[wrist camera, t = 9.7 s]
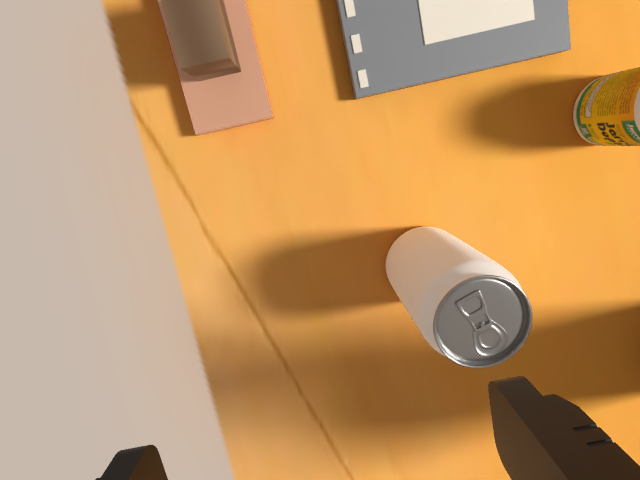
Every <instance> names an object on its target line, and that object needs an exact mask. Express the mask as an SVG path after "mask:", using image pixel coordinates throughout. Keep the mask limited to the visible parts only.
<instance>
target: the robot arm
mask: <svg viewBox="0 0 640 480" xmlns="http://www.w3.org/2000/svg"><path fill="white" fill-rule="evenodd" d="M489 398H490V406H491V414H492V421H493V429H494V437H495V443H496V447H497V450H498V453H499V456H500V459H501V461H502V463H503V465H504V467H505V469H506V471H507V473H508V474H509V476H510V478H511V479H512V480H640V466H639V465H638V464H637V463H636V462H635V461H634V460H633V459H632V458H631V457H630V456H629V455H628V454H626V453H625V452H624V451H623V450H622V449H621V448H620V447H619V446H618V445H617V444H616V443H615V442H614V443H613V442H612V440H611V438H610V437H609V436H608V435H607V434H606V433H605V432H604V431H603V430H602V429H601V428H600V427H597V426H596V423H595V422H594V421H593V420H592V419H591V418H590V417H589V416H588V415H587V414H586V413H585V412H583V411H582V410H581V409H580V408H579V407H578V406H576V405H575V404H573V403H571V402H569V401H567V400H565V399H563V398H561V397H559V396H557V395H555V394H552V395H546V396H542V395H541V394H540V393H539V392H538V390H537V389H536V388H535V387H534V386H533V385H532V384H531V383H530V382H529V381H528V380H527V379H526V378H525V377H524V376H518V377H513V378H508V379H502V380H497V381H492V382H490V383H489ZM96 480H168V479H167V476H166V473H165V470H164V467H163V464H162V461H161V458H160V455H159V452H158V450H157V448H156V447H155V446H154V445H148V446H142V447H137V448H132V449H126V450H121V451H119V452H118V453H117V454H116V455H115V457H114V458H113V460H112V461H111V463H110V464H109V466H108V467H107V469H106V470H105V472H104V474H103V475H102V476H101V478H97V479H96Z"/></svg>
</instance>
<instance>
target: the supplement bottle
mask: <svg viewBox="0 0 640 480" xmlns="http://www.w3.org/2000/svg"><path fill="white" fill-rule="evenodd" d="M573 120H574V125H575V127H576V130H577V132H578V133H579V135H580V136H581V137H582V138H583V139H584V140H586V141H587V142H589V143H592V144H595V145H603V146H640V67H639V68H634V69H630V70H625V71H621V72H617V73H612V74H609V75H605V76H602V77H599V78H597V79H595V80H594V81H592V82H591V83H589V84H588V85H587V86H586V87H585V88H584V89H583V90H582V91H581V93H580V94H579V96H578V98H577V100H576V102H575V105H574V110H573Z"/></svg>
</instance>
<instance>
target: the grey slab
mask: <svg viewBox="0 0 640 480" xmlns="http://www.w3.org/2000/svg"><path fill="white" fill-rule="evenodd" d="M336 4H337V9H338V15H339V20H340V25H341V30H342V35H343V41H344V46H345V51H346V56H347V61H348V67H349V72H350V77H351V82H352V87H353V93H354V98H355V100H356V99H360V98H364V97H369V96H373V95H378V94H382V93H386V92H391V91H395V90H399V89H404V88H408V87H412V86H417V85H421V84H425V83H430V82H434V81H438V80H443V79H447V78H451V77H456V76H460V75H465V74H469V73H473V72H478V71H482V70H486V69H491V68H495V67H499V66H504V65H508V64H512V63H517V62H521V61H525V60H530V59H534V58H538V57H543V56H547V55H552V54H556V53H560V52H563V51H566V50H569V49H571V43H570V29H569V15H568V1H567V0H336Z"/></svg>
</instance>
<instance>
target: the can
mask: <svg viewBox="0 0 640 480" xmlns="http://www.w3.org/2000/svg"><path fill="white" fill-rule="evenodd" d="M386 273H387V277H388V280H389V282H390V284H391V286H392V287H393V289H394V291H395V292H396V294H397V296H398V297H399V299H400V300H401V302H402V304H403V305H404V307H405V309H406V310H407V312H408V313H409V315H410V317H411V318H412V320H413V321H414V323H415V324H416V326H417V328H418V329H419V331H420V332H421V334H422V335H423V337H424V338H425V340H426V341H427V342H428V343H429V345H430V346H431V347H432V348H433V349H435V350H436V351H437V352H438V353H440V354H442V355H444V356H446V357H447V358H448V359H450V360H451V361H453V362H454V363H456V364H458V365H461V366H464V367H469V368H487V367H491V366H495V365H497V364H500V363H502V362H504V361H506V360H507V359H509V358H510V357H512V356H513V355H514V354H515V353H516V352H517V351H518V350H519V349H520V348H521V347H522V345H523V344H524V343H525V341H526V339H527V337H528V335H529V332H530V329H531V325H532V309H531V305H530V302H529V299H528V297H527V296H526V294H525V293H524V291H523V290H522V289H521V286H520V284H519V283H518V281H517V280H516V278H515V277H514V276H513V275H512V274H511V273H510V272H509V271H508V270H506V269H505V268H504V267H502V266H501V265H499V264H498V263H496V262H495V261H493V260H492V259H490V258H488V257H487V256H485V255H484V254H482V253H480V252H479V251H477V250H476V249H474V248H472V247H471V246H469V245H467V244H466V243H464V242H463V241H461V240H459V239H458V238H456V237H454V236H453V235H451V234H449V233H448V232H446V231H444V230H442V229H439V228H436V227H429V226H424V227H417V228H414V229H411V230H409V231H407V232H405V233H404V234H402V235H401V236H400V237H398V238H397V239H396V241H395V242H394V243H393V244H392V246H391V248H390V250H389V252H388V255H387V258H386Z"/></svg>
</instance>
